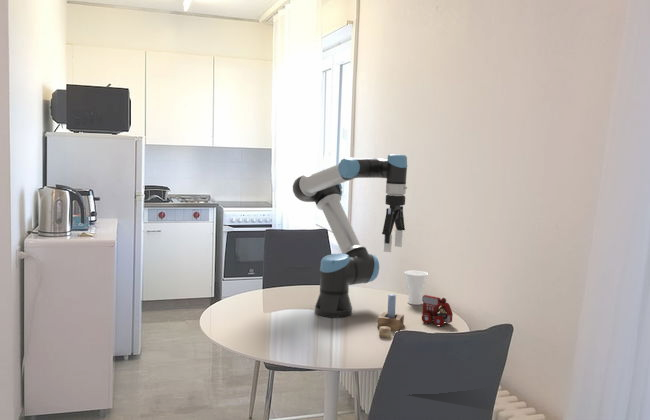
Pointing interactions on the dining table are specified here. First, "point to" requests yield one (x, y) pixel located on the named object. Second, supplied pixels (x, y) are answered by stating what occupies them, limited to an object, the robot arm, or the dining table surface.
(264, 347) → the dining table surface
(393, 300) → the blue rectangular block
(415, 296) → the cup
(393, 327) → the wooden block with hole
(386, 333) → the loose oak bead
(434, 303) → the toy fire truck
